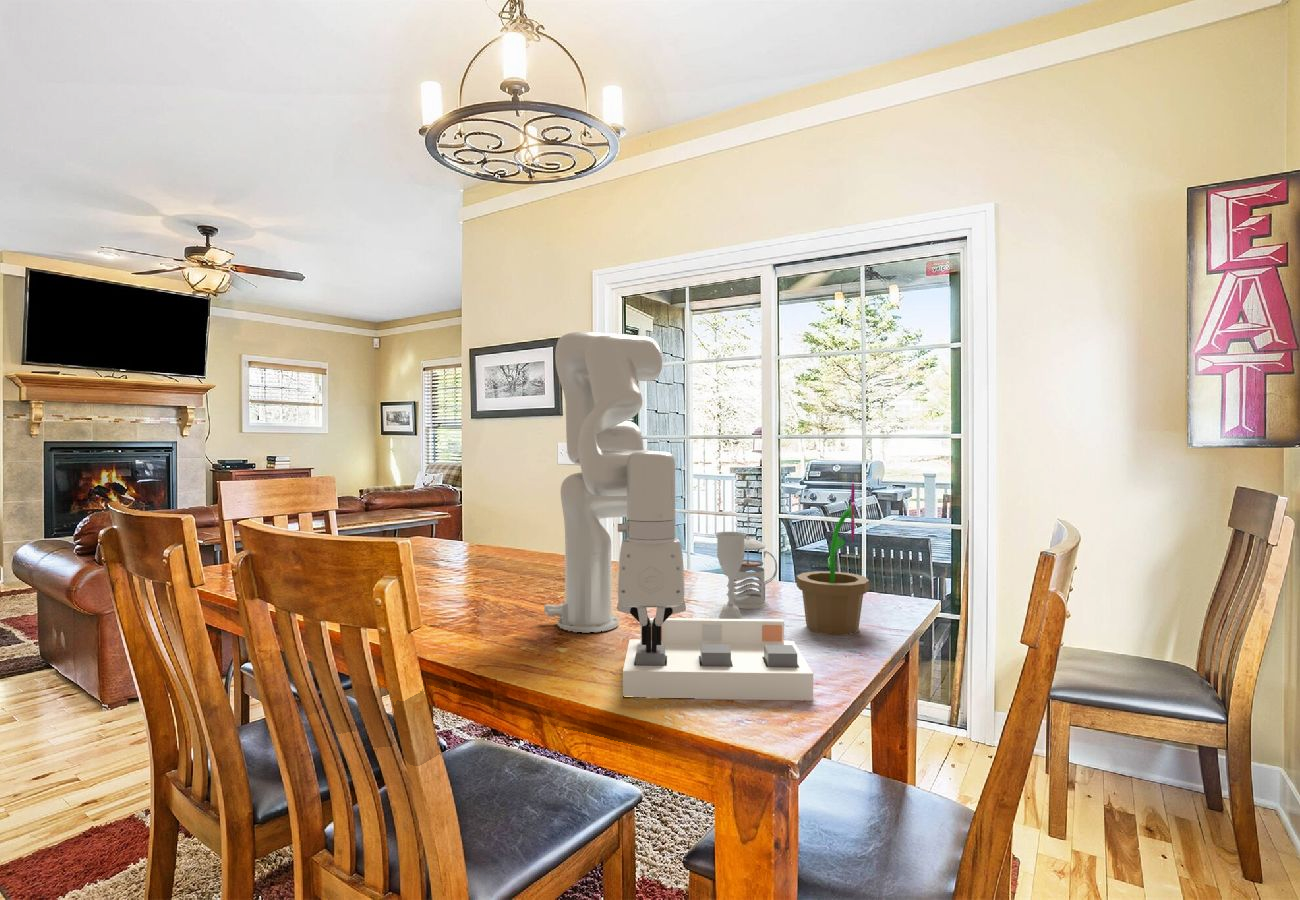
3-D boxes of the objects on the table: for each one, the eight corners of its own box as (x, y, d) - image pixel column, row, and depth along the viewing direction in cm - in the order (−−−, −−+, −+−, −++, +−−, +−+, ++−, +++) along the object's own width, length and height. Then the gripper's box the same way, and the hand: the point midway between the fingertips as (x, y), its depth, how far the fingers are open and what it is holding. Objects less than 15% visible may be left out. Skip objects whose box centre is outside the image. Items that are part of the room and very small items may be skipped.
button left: (635, 673, 102) (635, 653, 102) (637, 663, 106) (637, 644, 106) (664, 673, 102) (664, 653, 102) (665, 663, 106) (665, 644, 106)
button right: (768, 673, 101) (768, 653, 101) (764, 663, 106) (764, 644, 106) (797, 673, 101) (797, 653, 101) (792, 663, 106) (792, 644, 105)
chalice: (712, 612, 149) (712, 531, 149) (742, 612, 149) (742, 531, 149) (718, 621, 142) (718, 536, 141) (749, 620, 142) (750, 536, 142)
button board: (622, 698, 99) (622, 644, 99) (629, 662, 115) (629, 616, 115) (813, 700, 98) (813, 646, 98) (793, 664, 114) (793, 617, 114)
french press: (726, 598, 163) (726, 495, 163) (774, 599, 162) (775, 495, 161) (727, 608, 153) (727, 498, 153) (778, 609, 152) (779, 499, 152)
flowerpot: (869, 641, 128) (870, 484, 128) (793, 634, 132) (794, 482, 132) (868, 621, 142) (869, 479, 141) (799, 616, 146) (799, 478, 145)
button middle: (701, 672, 102) (701, 652, 102) (700, 662, 106) (700, 643, 106) (730, 672, 101) (730, 652, 101) (728, 663, 106) (728, 644, 106)
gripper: (600, 534, 100) (600, 656, 100) (700, 534, 100) (700, 657, 100) (605, 528, 108) (605, 642, 108) (698, 528, 107) (698, 642, 107)
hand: (651, 649), depth 104 cm, fingers closed
